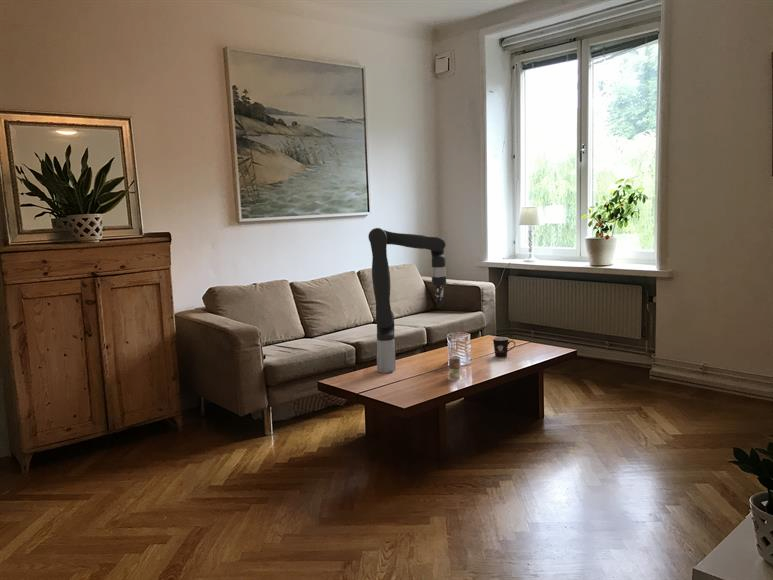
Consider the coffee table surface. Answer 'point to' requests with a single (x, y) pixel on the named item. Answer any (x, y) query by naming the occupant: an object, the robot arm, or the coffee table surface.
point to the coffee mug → (501, 346)
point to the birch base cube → (454, 373)
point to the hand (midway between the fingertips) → (439, 306)
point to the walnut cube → (454, 363)
